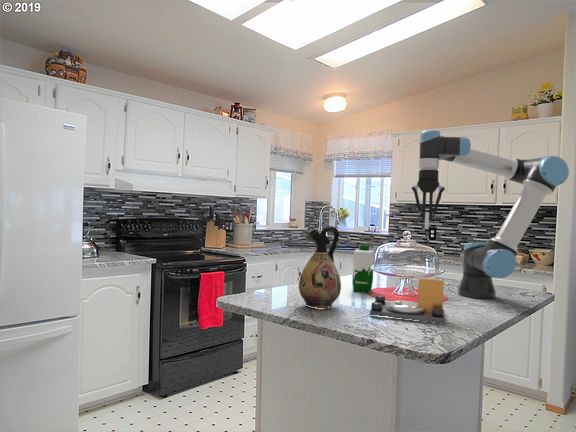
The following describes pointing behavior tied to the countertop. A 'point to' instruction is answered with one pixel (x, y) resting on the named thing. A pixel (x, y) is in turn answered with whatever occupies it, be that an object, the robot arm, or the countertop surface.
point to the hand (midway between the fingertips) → (426, 228)
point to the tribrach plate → (381, 309)
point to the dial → (421, 298)
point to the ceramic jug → (321, 272)
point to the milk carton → (363, 269)
